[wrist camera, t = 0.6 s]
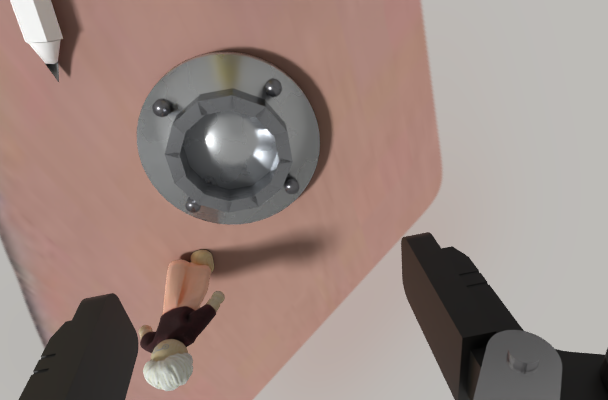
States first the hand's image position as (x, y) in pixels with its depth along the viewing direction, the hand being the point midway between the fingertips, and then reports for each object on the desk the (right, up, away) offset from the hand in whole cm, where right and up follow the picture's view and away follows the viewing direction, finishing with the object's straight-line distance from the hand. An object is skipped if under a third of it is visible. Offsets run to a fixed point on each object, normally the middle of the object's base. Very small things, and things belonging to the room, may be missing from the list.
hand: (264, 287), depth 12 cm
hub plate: (-5, +7, +22) cm, 23 cm away
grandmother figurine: (-10, -4, +27) cm, 29 cm away
